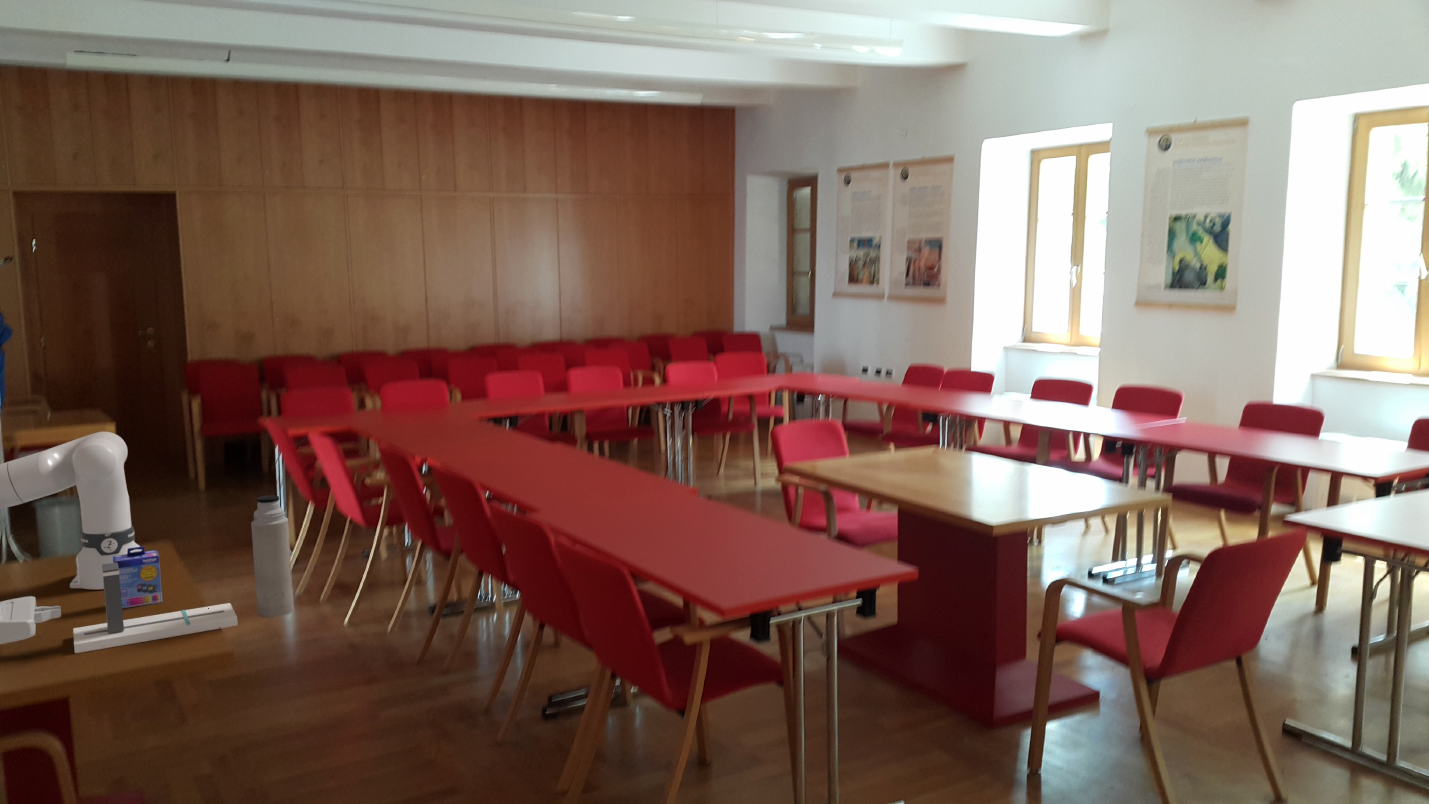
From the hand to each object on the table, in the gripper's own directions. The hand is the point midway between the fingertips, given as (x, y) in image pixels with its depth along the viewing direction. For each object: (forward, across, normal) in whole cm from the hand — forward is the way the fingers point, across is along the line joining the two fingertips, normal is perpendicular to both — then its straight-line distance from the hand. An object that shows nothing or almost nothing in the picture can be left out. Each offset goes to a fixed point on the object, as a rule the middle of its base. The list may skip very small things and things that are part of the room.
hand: (60, 611), depth 228 cm
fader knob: (+10, 0, -6) cm, 11 cm away
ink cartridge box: (+16, -25, -8) cm, 31 cm away
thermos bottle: (+43, +1, -8) cm, 44 cm away
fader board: (+18, 0, -8) cm, 20 cm away
